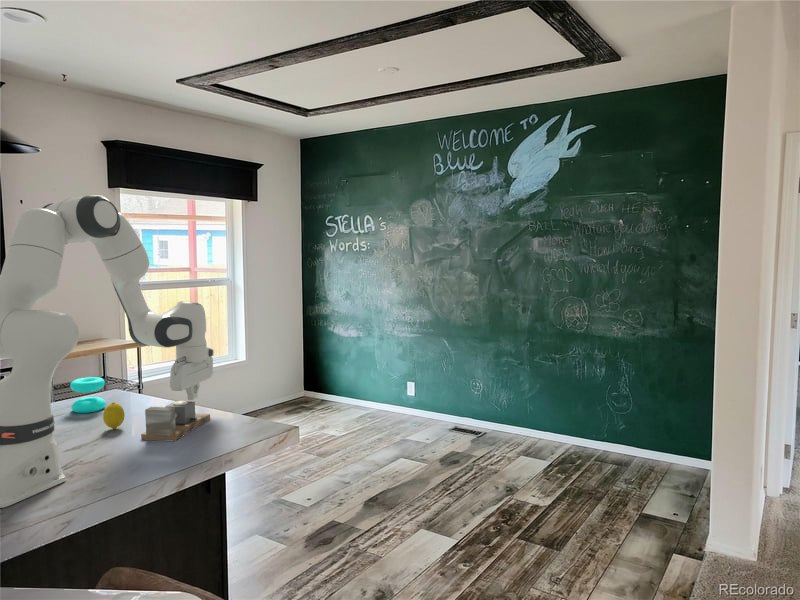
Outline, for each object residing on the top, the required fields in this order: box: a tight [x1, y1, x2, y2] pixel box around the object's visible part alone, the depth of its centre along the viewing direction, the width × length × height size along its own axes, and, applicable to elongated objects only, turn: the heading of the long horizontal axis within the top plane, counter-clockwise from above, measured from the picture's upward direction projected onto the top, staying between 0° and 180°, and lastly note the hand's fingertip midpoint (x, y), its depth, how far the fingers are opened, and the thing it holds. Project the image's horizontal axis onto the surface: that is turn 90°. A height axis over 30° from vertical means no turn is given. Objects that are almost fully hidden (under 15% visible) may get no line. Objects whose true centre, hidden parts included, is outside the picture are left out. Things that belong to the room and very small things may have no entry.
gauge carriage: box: [164, 400, 197, 424], centre depth 170 cm, size 9×8×5 cm
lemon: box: [102, 401, 125, 430], centre depth 169 cm, size 6×6×8 cm
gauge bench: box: [140, 406, 211, 442], centre depth 170 cm, size 21×10×8 cm, turn 172°
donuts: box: [69, 376, 107, 414], centre depth 190 cm, size 10×10×10 cm
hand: (192, 398), depth 178 cm, fingers closed
